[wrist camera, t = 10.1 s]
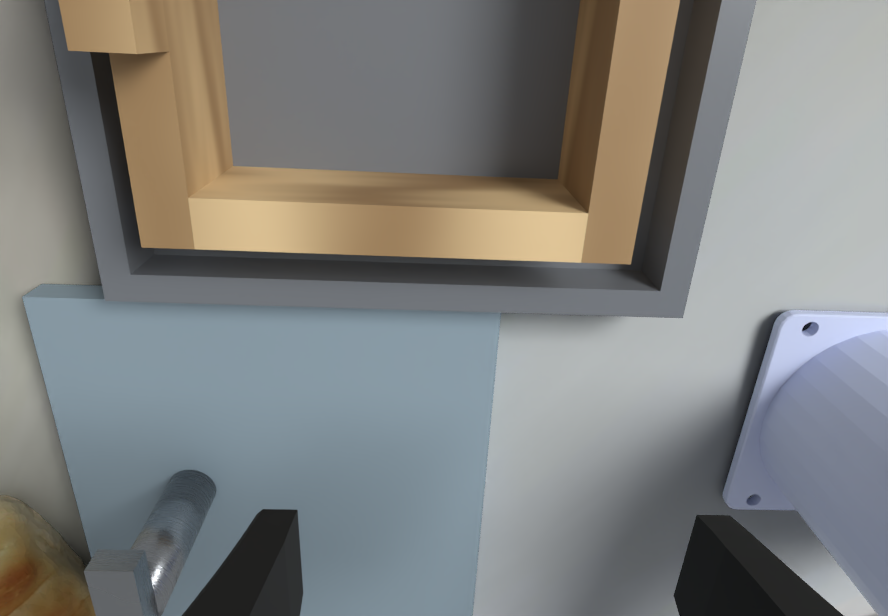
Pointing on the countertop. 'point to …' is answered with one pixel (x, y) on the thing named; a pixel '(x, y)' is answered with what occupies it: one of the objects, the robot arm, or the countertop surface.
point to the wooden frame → (377, 193)
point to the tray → (415, 148)
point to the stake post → (152, 552)
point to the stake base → (282, 435)
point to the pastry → (38, 567)
